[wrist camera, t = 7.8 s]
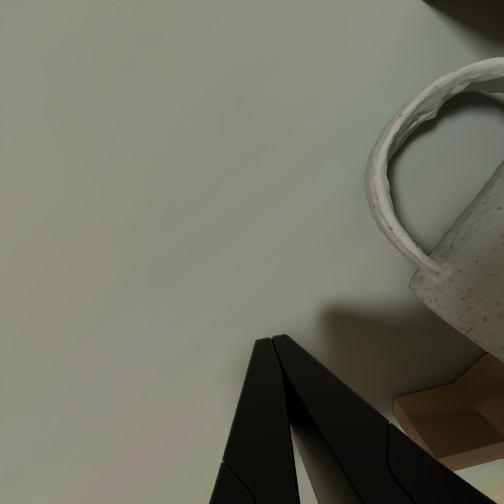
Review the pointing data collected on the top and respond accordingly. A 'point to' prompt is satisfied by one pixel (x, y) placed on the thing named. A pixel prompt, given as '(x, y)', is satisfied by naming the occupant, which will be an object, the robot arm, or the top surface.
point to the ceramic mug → (465, 228)
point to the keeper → (459, 416)
